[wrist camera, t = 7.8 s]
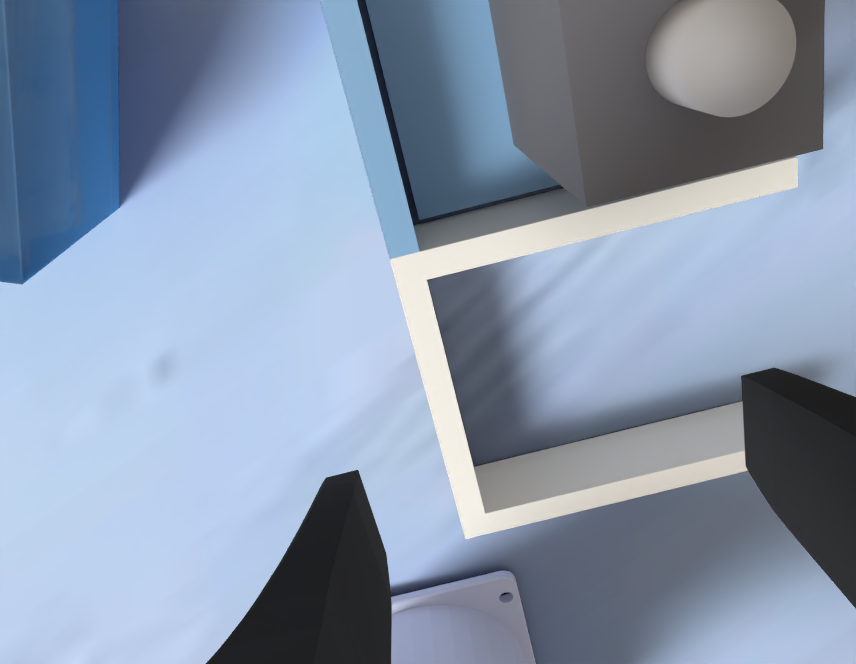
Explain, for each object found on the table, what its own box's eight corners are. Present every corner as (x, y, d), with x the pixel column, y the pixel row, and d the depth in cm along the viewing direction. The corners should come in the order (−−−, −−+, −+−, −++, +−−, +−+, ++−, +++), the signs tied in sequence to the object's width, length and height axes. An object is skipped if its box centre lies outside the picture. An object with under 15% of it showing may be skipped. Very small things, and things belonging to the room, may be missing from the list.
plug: (672, 105, 19) (876, 164, 12) (513, 144, 19) (612, 229, 12) (657, -78, 18) (890, -152, 10) (482, -34, 18) (575, -72, 10)
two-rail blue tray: (759, 416, 24) (800, 457, 22) (456, 490, 25) (465, 539, 22) (735, -229, 17) (794, -267, 14) (294, -113, 17) (283, -133, 15)
